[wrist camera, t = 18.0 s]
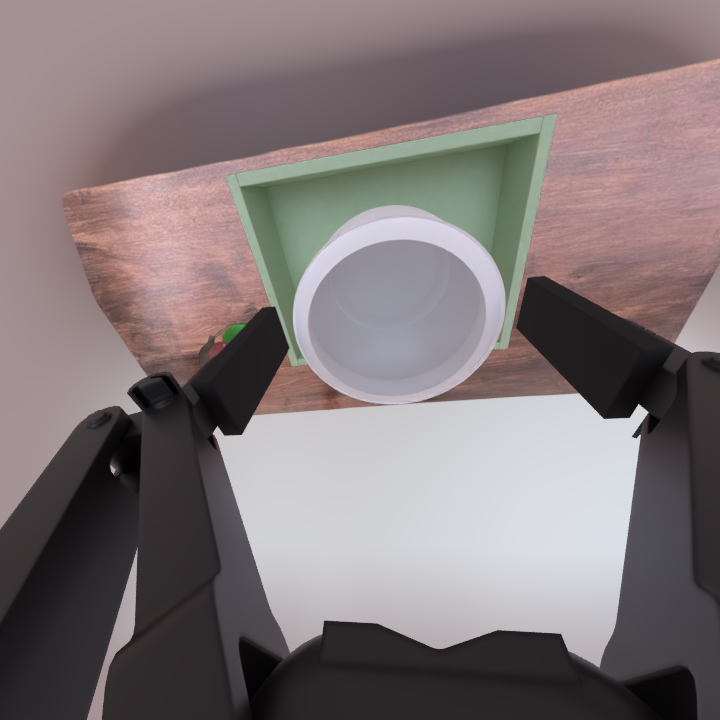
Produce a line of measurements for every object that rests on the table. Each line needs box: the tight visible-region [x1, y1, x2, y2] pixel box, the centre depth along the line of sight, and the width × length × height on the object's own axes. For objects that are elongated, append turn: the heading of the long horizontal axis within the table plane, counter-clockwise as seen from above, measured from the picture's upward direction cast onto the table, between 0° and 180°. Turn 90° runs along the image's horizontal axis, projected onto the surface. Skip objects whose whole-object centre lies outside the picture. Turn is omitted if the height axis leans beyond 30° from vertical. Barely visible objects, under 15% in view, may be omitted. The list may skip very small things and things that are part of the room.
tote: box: [225, 114, 557, 366], centre depth 24 cm, size 22×17×6 cm
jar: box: [293, 205, 506, 404], centre depth 19 cm, size 11×10×15 cm
